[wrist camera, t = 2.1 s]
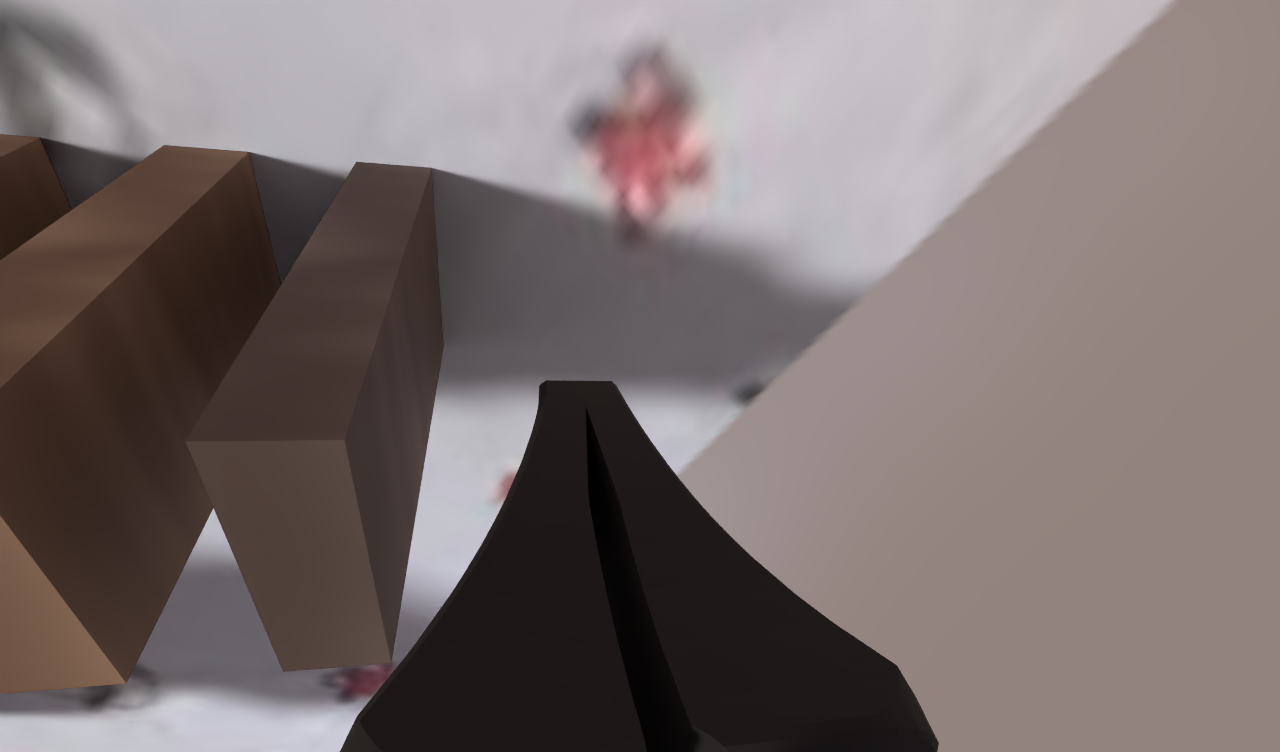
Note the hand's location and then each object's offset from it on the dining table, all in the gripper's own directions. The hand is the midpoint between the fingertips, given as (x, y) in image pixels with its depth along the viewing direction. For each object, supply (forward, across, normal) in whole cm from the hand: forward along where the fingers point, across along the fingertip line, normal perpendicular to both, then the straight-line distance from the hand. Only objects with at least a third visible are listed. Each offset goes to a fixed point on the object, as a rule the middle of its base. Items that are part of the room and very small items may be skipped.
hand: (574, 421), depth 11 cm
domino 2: (+6, +4, 0) cm, 7 cm away
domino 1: (+6, +8, 0) cm, 10 cm away
